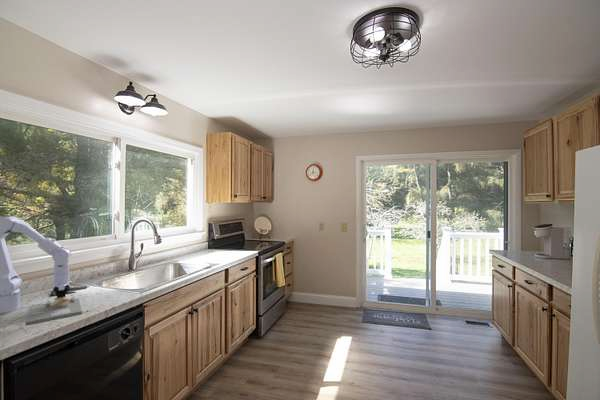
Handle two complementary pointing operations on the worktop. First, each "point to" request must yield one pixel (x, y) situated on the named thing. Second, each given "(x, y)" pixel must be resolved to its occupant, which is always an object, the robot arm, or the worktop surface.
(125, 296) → the worktop surface
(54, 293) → the door handle
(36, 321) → the slate board
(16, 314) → the worktop surface
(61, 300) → the birch block
